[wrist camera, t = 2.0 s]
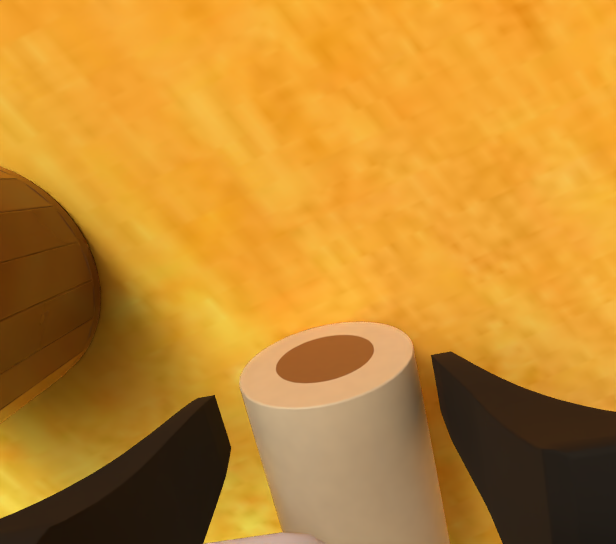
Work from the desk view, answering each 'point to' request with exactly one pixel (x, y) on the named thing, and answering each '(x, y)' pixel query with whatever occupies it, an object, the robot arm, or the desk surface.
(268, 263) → the desk surface
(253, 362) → the paper roll
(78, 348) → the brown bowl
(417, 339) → the desk surface
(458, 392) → the robot arm
